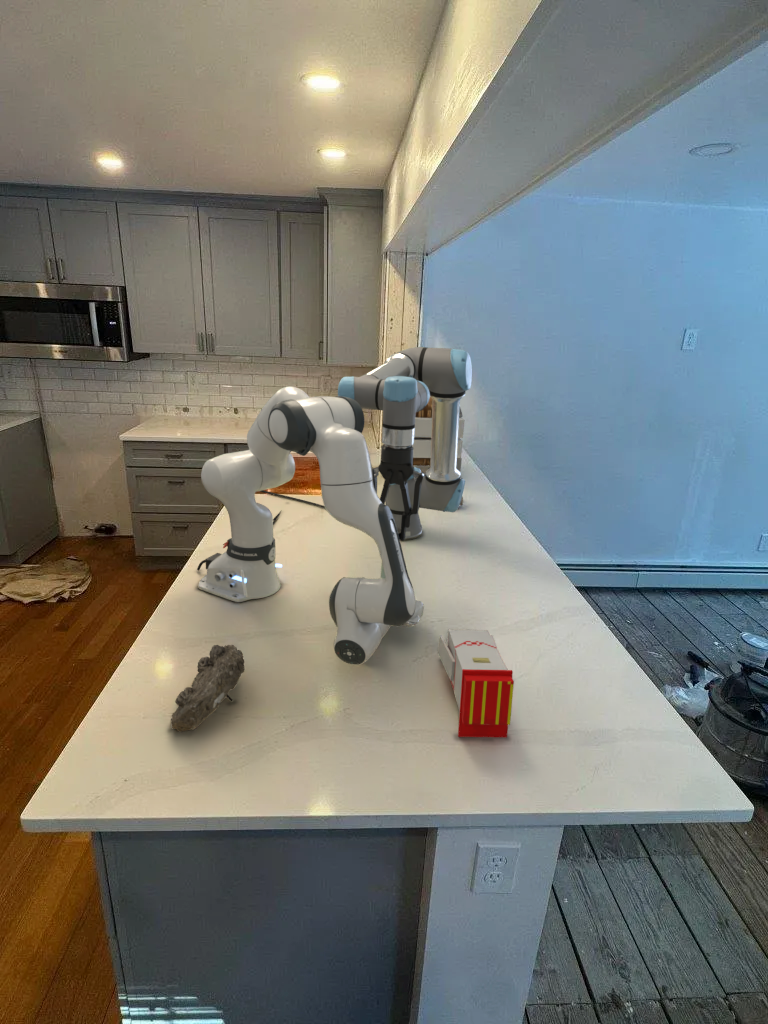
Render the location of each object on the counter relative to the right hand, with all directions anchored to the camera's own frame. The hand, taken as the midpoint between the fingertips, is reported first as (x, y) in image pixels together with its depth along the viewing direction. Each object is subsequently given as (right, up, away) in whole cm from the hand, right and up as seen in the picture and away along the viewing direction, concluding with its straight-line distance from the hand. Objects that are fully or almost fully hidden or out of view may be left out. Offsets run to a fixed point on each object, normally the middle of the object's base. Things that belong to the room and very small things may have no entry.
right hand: (392, 537), depth 140 cm
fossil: (-36, -31, -27) cm, 55 cm away
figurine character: (+26, +9, +92) cm, 96 cm away
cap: (0, +1, -1) cm, 1 cm away
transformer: (+15, +25, +135) cm, 138 cm away
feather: (-41, +5, +73) cm, 84 cm away
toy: (+16, -31, -21) cm, 41 cm away
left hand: (0, -14, +6) cm, 16 cm away
